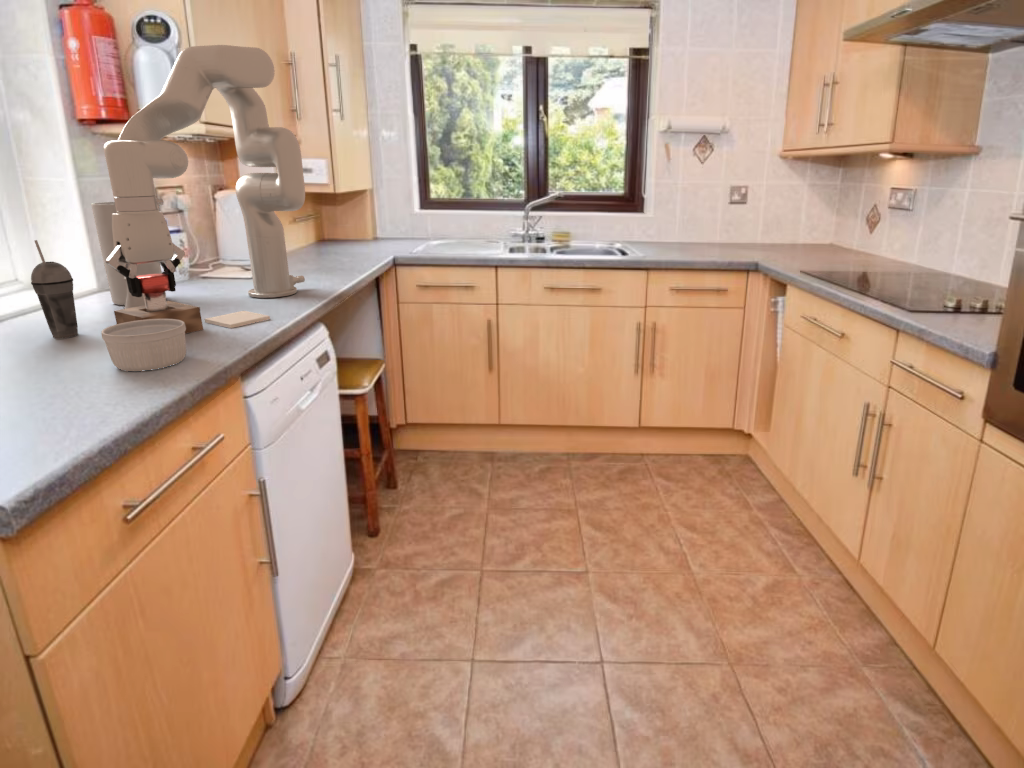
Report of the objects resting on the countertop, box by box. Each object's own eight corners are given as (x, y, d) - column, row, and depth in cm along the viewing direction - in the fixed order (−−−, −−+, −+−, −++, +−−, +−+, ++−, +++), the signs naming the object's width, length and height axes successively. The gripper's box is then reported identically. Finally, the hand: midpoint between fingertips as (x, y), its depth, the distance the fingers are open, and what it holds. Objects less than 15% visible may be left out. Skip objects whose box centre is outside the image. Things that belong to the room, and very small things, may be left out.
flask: (149, 315, 154) (141, 273, 151) (163, 319, 150) (155, 276, 146) (117, 321, 149) (107, 277, 145) (130, 325, 144) (120, 281, 141)
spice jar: (168, 326, 143) (157, 272, 139) (183, 330, 139) (173, 275, 135) (138, 332, 138) (127, 277, 134) (154, 337, 134) (143, 279, 130)
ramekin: (155, 350, 125) (148, 315, 123) (207, 357, 121) (201, 320, 119) (92, 370, 114) (83, 332, 111) (146, 378, 109) (138, 338, 107)
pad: (244, 313, 154) (243, 310, 154) (270, 319, 149) (269, 315, 148) (205, 322, 146) (204, 318, 146) (230, 328, 141) (230, 324, 141)
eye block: (173, 322, 147) (169, 300, 145) (203, 329, 140) (199, 307, 138) (118, 333, 137) (113, 310, 136) (147, 342, 131) (142, 318, 129)
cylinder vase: (108, 308, 162) (86, 205, 154) (116, 298, 173) (96, 202, 164) (164, 303, 166) (145, 203, 158) (168, 294, 177) (151, 200, 169)
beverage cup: (93, 333, 137) (71, 238, 131) (56, 342, 131) (31, 242, 125) (74, 329, 141) (52, 236, 134) (38, 337, 135) (12, 240, 128)
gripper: (169, 202, 139) (183, 285, 145) (81, 207, 125) (102, 298, 131) (188, 203, 135) (202, 288, 141) (100, 209, 121) (120, 302, 127)
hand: (153, 292), depth 136 cm, fingers closed on spice jar, 6 cm apart
